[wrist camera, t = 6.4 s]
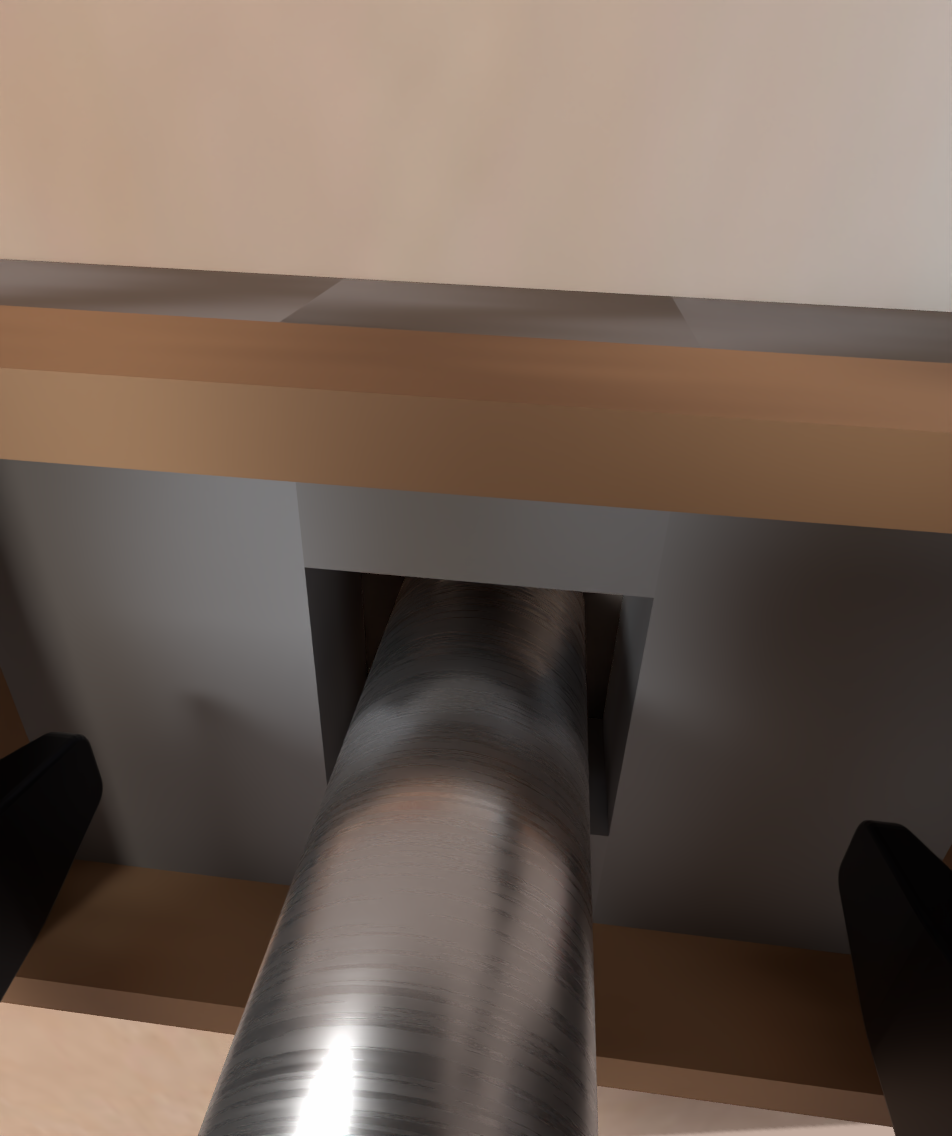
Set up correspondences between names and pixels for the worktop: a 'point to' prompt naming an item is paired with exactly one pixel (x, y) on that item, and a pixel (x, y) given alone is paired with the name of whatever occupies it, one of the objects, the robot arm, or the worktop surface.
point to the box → (496, 556)
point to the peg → (439, 894)
